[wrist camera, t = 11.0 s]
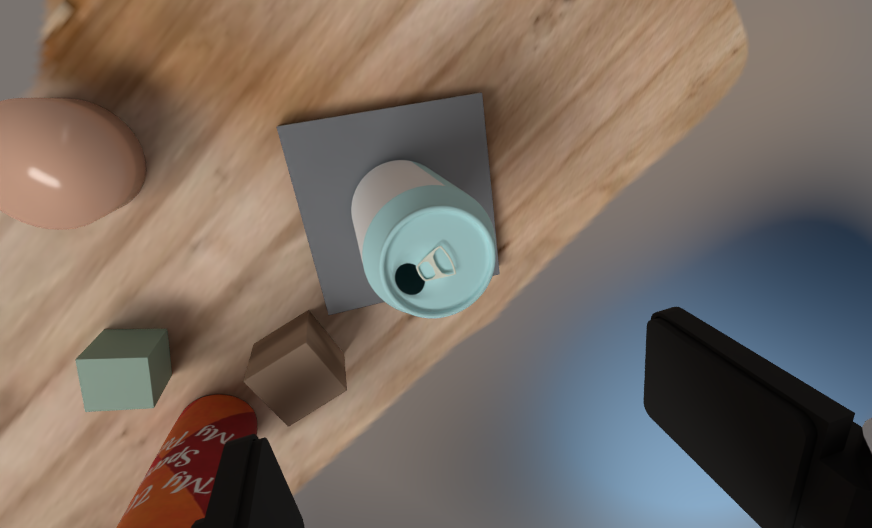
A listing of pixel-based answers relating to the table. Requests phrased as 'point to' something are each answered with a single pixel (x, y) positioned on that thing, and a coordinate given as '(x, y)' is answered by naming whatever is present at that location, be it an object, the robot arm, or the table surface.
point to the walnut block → (296, 369)
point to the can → (422, 240)
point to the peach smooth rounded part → (65, 162)
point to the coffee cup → (189, 464)
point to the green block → (124, 369)
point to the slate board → (363, 151)
